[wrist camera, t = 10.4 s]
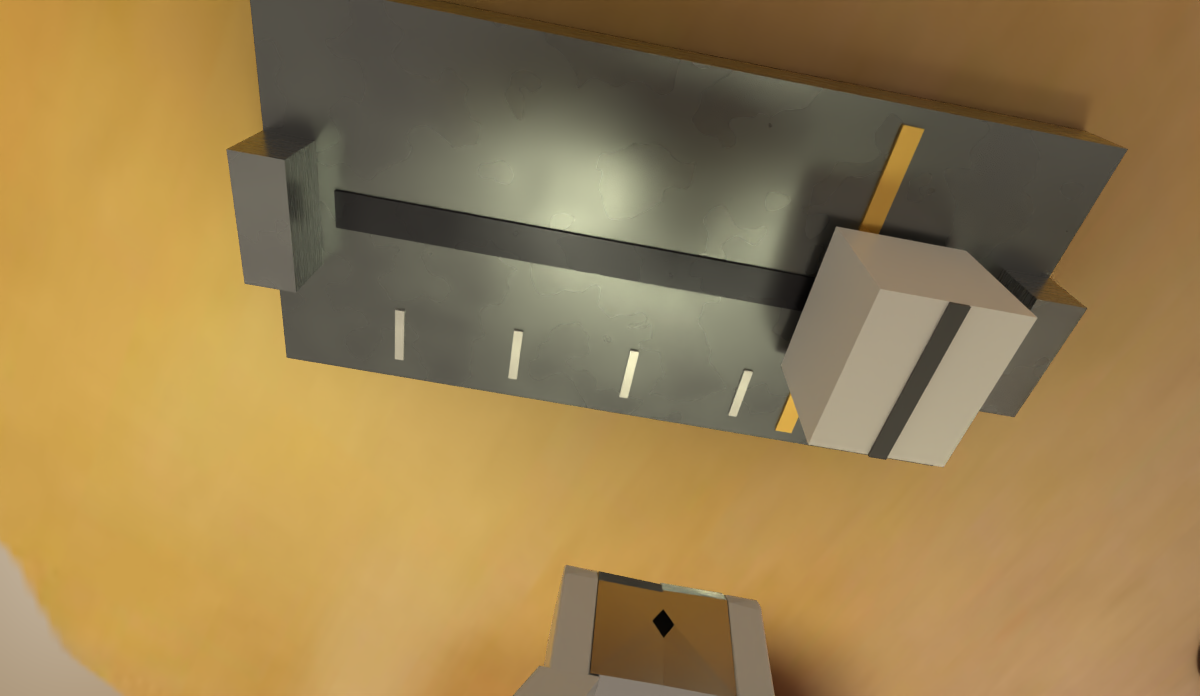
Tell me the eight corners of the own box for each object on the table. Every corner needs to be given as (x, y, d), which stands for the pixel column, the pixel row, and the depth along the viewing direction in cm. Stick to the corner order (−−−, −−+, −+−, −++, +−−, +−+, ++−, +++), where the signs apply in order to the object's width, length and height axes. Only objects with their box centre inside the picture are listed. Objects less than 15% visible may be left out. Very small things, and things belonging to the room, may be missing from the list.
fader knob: (966, 251, 19) (1039, 319, 16) (895, 385, 22) (945, 469, 18) (836, 226, 19) (881, 290, 15) (780, 365, 22) (808, 447, 18)
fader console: (1085, 130, 20) (1179, 171, 16) (913, 431, 26) (955, 505, 23) (283, -31, 18) (203, -24, 15) (310, 328, 25) (259, 390, 21)
